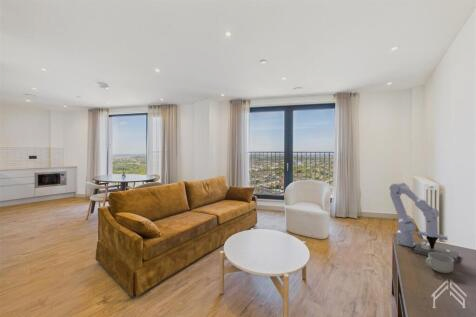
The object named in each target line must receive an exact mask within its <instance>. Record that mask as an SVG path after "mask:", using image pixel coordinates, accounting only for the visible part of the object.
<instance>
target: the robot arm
mask: <svg viewBox="0 0 476 317" xmlns="http://www.w3.org/2000/svg"><path fill="white" fill-rule="evenodd" d="M389 191H390V194H389V195H390V198H391V201H392V204H393V207H394V209H395V211H396V215H397V216H398V221H397V227H398V230H397V232H396V244H398V245H401V246H405V247H410V248H415V247H416V243H415V240H414V238H415V237H414V232H415V231H416V229H417V227H416V224H415V223H414V221H413V220H412V219H411V218H409V216H408V213H407V211H406V208H405V206H404V203H403V200H402V198H401V195H402V194H403V195H405V196H407V197H408V198H409V199H411V200H412V201H413V202H414V205H415V206H416V207H417V208H418V209H419V210H420V211H421V212H422V214H423V216H424V217H425V218H424V219H425V231H420V230H419V231H417V236H423V237H426V240H427V241H428V242H427V243H429V244H430V247H431V248H432V249H434V247H435V244H436V243H437V241H438V239H440V240H444V241H449V240H448V239H449V238H448V236H446V235H442V234H439V232H438V231H439V229H438V228H439V227H438V224H439V222H438V218H439V216H440V212H439V210H438V209H437V208H433V206H430V205H429V204H428V203H427V201H426V200H424V199H421V198H419V197H418V196H417V195H416V194H415V192H413V191H412V190H411V189H410V186H408V185H407V184H406V183H405V182H399V183H391V185H390V186H389Z"/></svg>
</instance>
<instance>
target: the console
mask: <svg viewBox="0 0 476 317" xmlns="http://www.w3.org/2000/svg"><path fill="white" fill-rule="evenodd" d="M430 252H436V253H441V254H445V255H447V256H450V257H451V258H453V259H454V263H457V262H458V258H459V251H455V250H451V249H446V248H441V247H437V246H434V249H432V248H430V250H426V249H422V248H421V243H417V244H415V246H414V247H413V253H416V254H419V255H424V256H427V257H428V253H430Z"/></svg>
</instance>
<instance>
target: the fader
mask: <svg viewBox="0 0 476 317" xmlns="http://www.w3.org/2000/svg"><path fill="white" fill-rule="evenodd" d="M420 244H421V248H422V249H426V250H430V248H431V247H430V244H429V242H426V241H422V242H421V243H420Z"/></svg>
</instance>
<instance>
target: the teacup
mask: <svg viewBox="0 0 476 317" xmlns="http://www.w3.org/2000/svg"><path fill="white" fill-rule="evenodd" d="M425 264H426V265H427V266H429V267H430V268H431V269H432V270H434V271H436V272H438V273H440V274H449V273H451V272H453V270H454V267H455V266H454V264H455V262H454V259H453V258H451V257H450V256H447V255H445V254H441V253H436V252H430V253H428V256H427V258H426V259H425Z"/></svg>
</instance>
